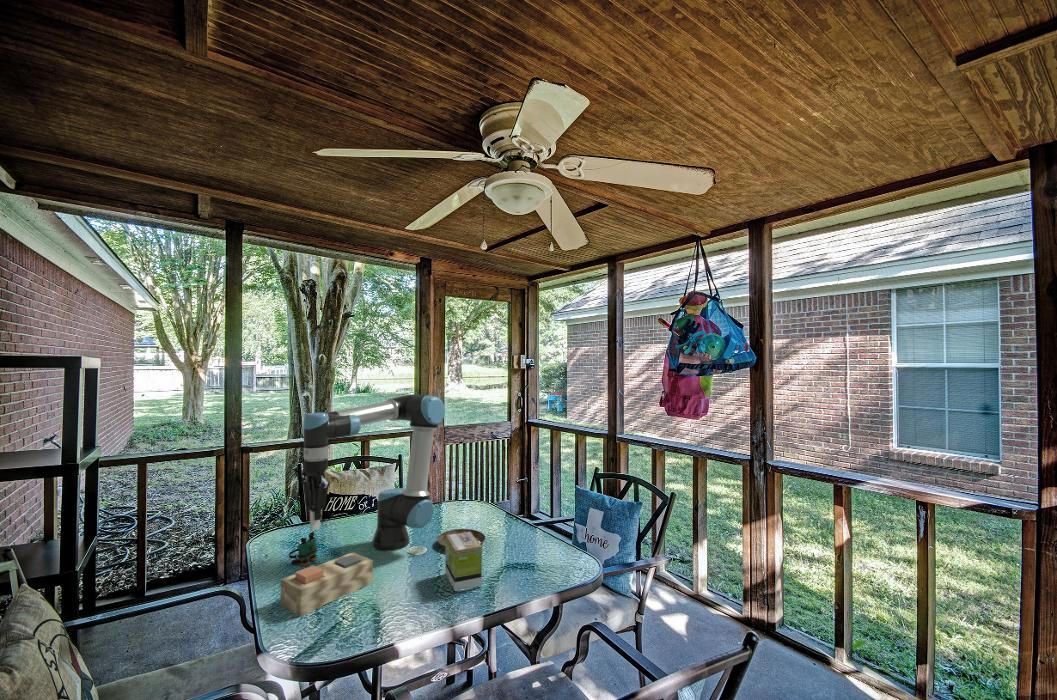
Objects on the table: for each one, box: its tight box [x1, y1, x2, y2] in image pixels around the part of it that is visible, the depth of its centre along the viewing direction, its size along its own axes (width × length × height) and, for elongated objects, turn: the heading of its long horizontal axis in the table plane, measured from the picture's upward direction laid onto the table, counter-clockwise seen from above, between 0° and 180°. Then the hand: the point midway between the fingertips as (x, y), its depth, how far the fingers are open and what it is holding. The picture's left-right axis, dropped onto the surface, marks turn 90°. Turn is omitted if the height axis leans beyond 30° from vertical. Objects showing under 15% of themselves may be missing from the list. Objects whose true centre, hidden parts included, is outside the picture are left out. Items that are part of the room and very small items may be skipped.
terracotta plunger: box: [294, 565, 323, 585], centre depth 146 cm, size 6×6×8 cm
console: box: [279, 551, 374, 618], centre depth 152 cm, size 26×12×8 cm, turn 146°
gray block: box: [335, 555, 361, 568], centre depth 158 cm, size 6×6×8 cm
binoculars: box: [288, 532, 318, 567], centre depth 176 cm, size 9×11×10 cm
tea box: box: [444, 532, 483, 591], centre depth 163 cm, size 15×10×15 cm
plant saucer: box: [436, 528, 486, 550], centre depth 195 cm, size 21×21×3 cm
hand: (315, 528), depth 152 cm, fingers closed
